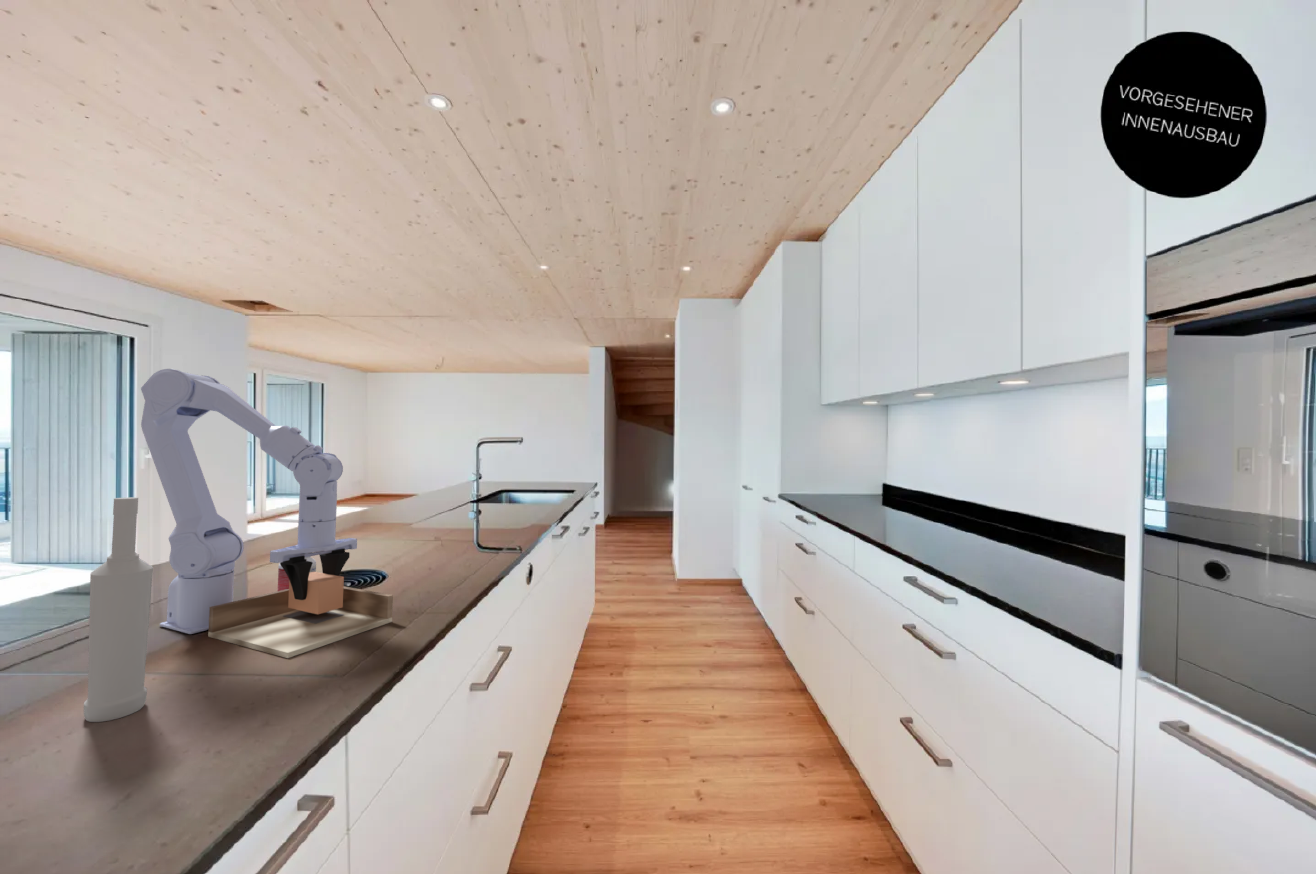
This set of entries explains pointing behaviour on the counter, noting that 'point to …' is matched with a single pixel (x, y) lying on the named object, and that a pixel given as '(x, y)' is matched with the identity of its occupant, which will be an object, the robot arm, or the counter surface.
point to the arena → (296, 621)
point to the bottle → (119, 623)
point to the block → (319, 594)
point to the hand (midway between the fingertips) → (314, 595)
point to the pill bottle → (283, 578)
